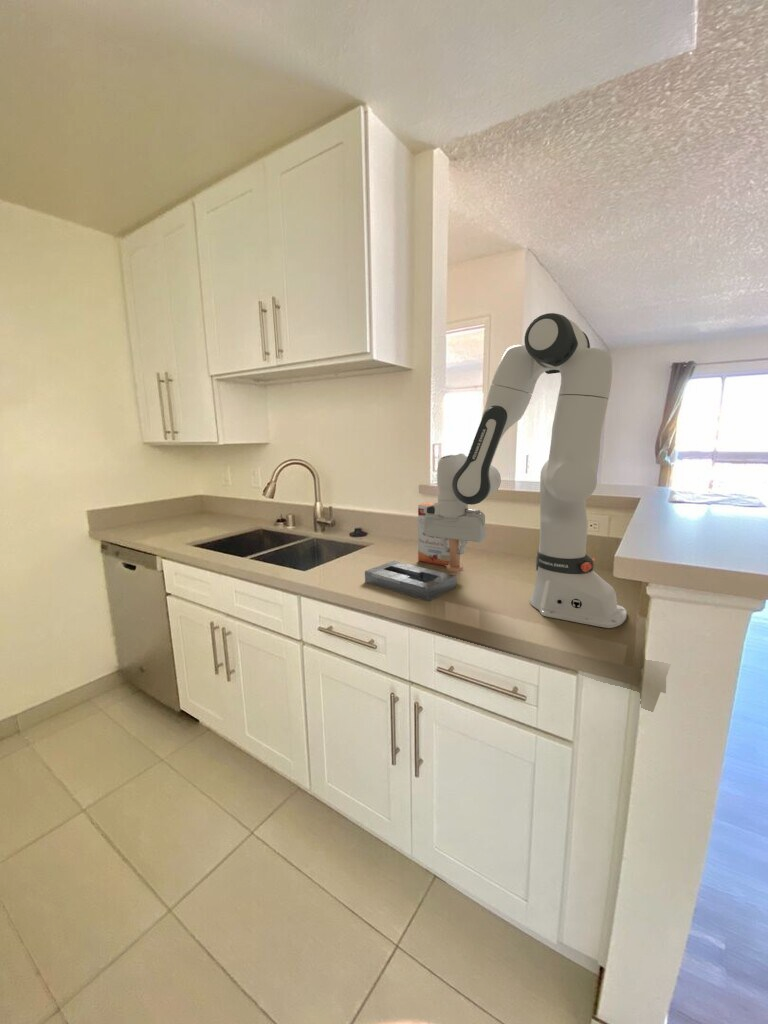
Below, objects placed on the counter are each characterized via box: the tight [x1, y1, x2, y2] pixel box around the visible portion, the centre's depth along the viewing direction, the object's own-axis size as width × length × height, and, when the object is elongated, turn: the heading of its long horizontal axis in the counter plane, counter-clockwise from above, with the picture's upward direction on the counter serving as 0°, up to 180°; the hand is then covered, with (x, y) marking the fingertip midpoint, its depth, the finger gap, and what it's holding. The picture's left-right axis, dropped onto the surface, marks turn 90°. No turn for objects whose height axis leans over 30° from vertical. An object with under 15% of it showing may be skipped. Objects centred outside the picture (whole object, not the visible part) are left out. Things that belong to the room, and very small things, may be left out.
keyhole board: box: [364, 560, 457, 602], centre depth 126 cm, size 24×14×4 cm, turn 48°
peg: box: [446, 539, 464, 573], centre depth 126 cm, size 5×5×11 cm
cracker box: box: [417, 502, 461, 567], centre depth 146 cm, size 14×6×21 cm, turn 55°
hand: (454, 552), depth 126 cm, fingers closed on peg, 3 cm apart
